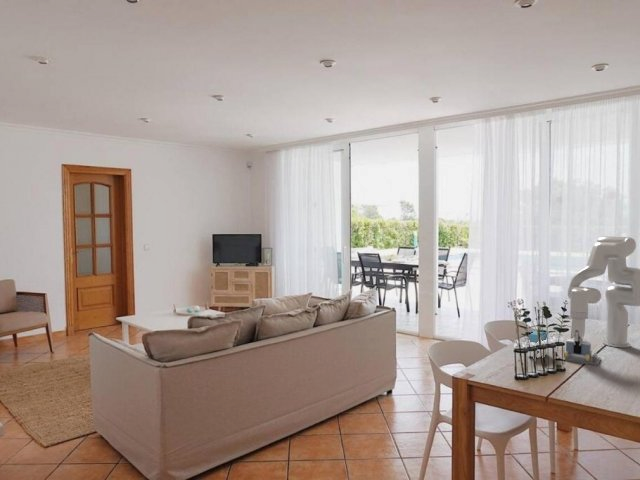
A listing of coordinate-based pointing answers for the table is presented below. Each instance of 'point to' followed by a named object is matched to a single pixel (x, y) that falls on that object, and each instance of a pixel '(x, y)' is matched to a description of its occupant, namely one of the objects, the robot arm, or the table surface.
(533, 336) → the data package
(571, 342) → the block
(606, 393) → the table surface
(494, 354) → the table surface
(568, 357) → the tray
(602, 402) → the table surface
